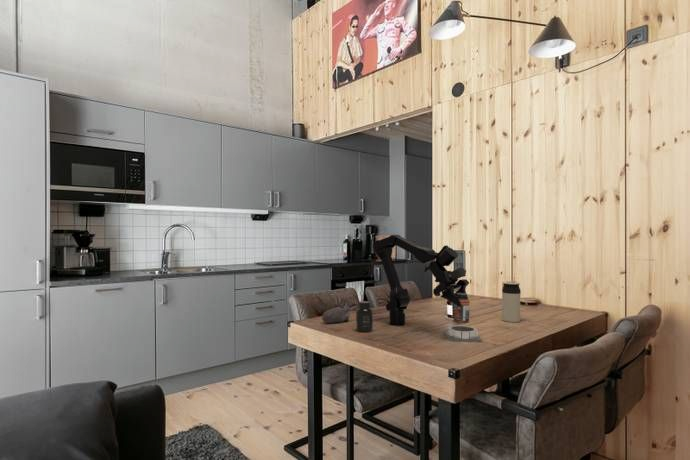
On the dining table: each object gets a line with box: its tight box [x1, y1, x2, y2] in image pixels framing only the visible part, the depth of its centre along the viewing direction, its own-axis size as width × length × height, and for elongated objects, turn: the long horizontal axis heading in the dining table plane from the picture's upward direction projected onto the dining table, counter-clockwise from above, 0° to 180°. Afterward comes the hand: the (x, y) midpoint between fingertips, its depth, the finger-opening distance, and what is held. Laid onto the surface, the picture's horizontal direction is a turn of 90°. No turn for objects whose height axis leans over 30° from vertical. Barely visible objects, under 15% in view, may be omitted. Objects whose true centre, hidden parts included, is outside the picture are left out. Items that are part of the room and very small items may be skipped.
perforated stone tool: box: [321, 305, 351, 324], centre depth 187 cm, size 15×5×7 cm, turn 121°
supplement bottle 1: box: [355, 300, 374, 333], centre depth 173 cm, size 7×7×12 cm
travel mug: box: [501, 280, 522, 323], centre depth 193 cm, size 8×8×18 cm
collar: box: [444, 324, 483, 343], centre depth 162 cm, size 12×12×3 cm
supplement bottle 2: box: [453, 292, 470, 325], centre depth 162 cm, size 6×6×11 cm
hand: (464, 304), depth 161 cm, fingers closed on supplement bottle 2, 6 cm apart
